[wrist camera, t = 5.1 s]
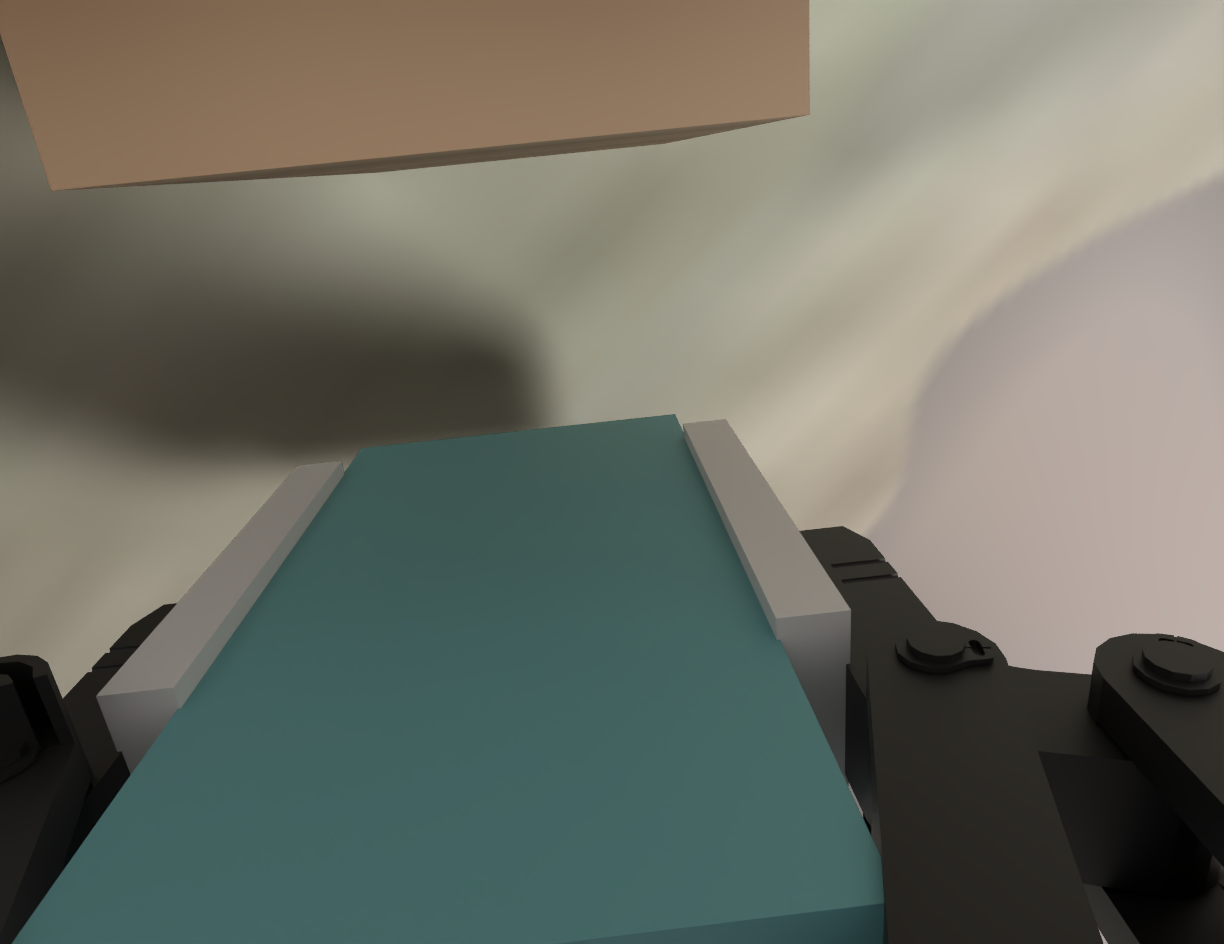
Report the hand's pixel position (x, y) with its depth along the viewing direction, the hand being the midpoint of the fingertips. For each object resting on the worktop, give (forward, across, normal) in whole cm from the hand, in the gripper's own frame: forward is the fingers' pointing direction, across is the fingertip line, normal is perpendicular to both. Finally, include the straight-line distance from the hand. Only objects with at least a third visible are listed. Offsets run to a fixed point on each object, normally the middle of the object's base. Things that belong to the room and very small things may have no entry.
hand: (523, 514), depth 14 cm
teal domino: (+1, 0, 0) cm, 1 cm away
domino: (+5, 0, -7) cm, 8 cm away
